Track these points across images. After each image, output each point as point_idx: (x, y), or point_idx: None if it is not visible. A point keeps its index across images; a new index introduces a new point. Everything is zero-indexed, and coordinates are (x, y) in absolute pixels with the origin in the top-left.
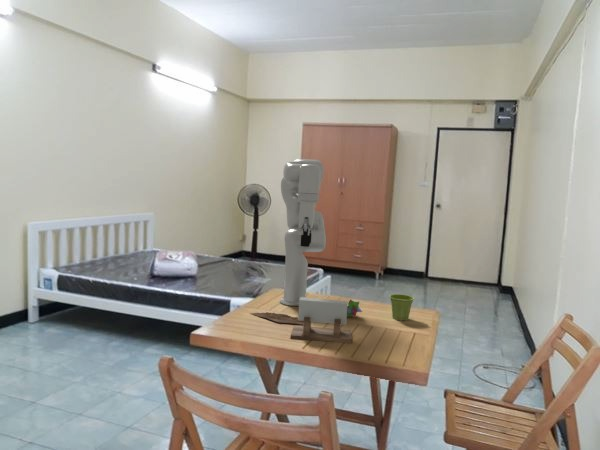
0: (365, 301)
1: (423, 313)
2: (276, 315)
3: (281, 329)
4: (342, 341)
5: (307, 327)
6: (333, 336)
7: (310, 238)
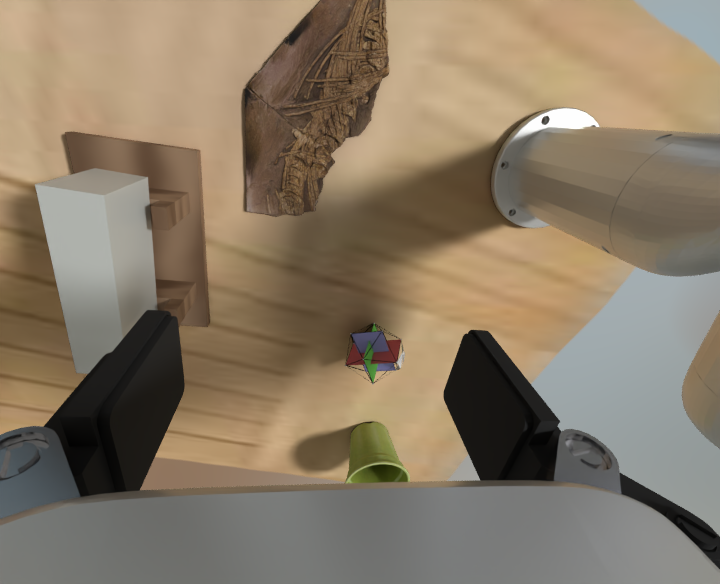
0: (530, 381)
1: (415, 474)
2: (346, 83)
3: (172, 99)
4: None
5: None
6: None
7: (462, 434)
